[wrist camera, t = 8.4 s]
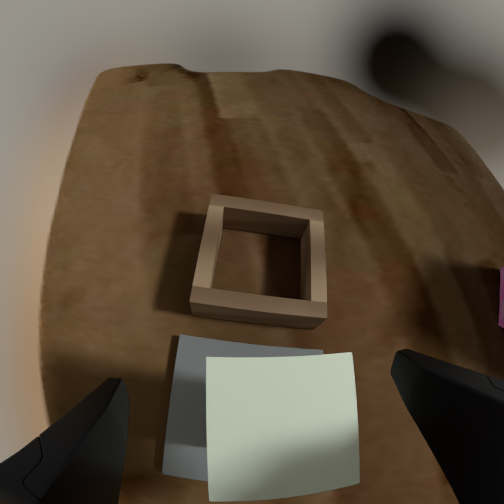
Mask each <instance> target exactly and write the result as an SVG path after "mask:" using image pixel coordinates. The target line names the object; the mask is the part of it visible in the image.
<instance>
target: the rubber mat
mask: <svg viewBox="0 0 504 504" xmlns="http://www.w3.org/2000/svg"><path fill="white" fill-rule="evenodd" d="M310 355H323V350H314V349H299V348H286V347H274V346H264V345H254V344H245V343H237V342H229V341H221V340H214V339H207V338H200V337H194V336H188V335H182V334H180V337H179V343H178V349H177V356H176V362H175V368H174V375H173V382H172V389H171V396H170V404H169V412H168V420H167V428H166V437H165V446H164V456H163V467H162V474H166V475H171V476H176V477H182V478H188V479H194V480H202V481H208V465H207V429H206V357H290V356H310Z"/></svg>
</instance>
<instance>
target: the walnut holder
mask: <svg viewBox="0 0 504 504" xmlns="http://www.w3.org/2000/svg"><path fill="white" fill-rule="evenodd" d="M222 228H228V229H235V230H243V231H250V232H257V233H264V234H270V235H277V236H284V237H291V238H297V239H301V288H300V300H299V299H290V298H282V297H273V296H265V295H257V294H249V293H241V292H234V291H227V290H219V289H212V286H213V280H214V274H215V268H216V262H217V256H218V250H219V244H220V238H221V233H222ZM189 302H190V307H191V311H192V315H195V316H201V317H208V318H215V319H222V320H229V321H237V322H245V323H253V324H262V325H271V326H281V327H291V328H303V329H315V328H316V327H317V326H319V325H320V324H321V323H322V322H323V321H324V320H325V319H327V284H326V257H325V238H324V222H323V211H320V210H314V209H309V208H303V207H297V206H291V205H285V204H278V203H272V202H266V201H259V200H252V199H245V198H238V197H231V196H224V195H216V194H212V195H211V200H210V204H209V208H208V213H207V217H206V222H205V226H204V231H203V236H202V240H201V245H200V250H199V255H198V260H197V265H196V270H195V275H194V280H193V285H192V290H191V296H190V301H189Z"/></svg>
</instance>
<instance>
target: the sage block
mask: <svg viewBox="0 0 504 504" xmlns="http://www.w3.org/2000/svg"><path fill="white" fill-rule="evenodd" d="M206 429H207V465H208V488H209V501H253V500H267V499H277V498H286V497H294V496H301V495H307V494H313V493H319V492H324V491H329V490H334V489H338V488H342V487H347V486H351V485H355V484H358V483H359V435H358V416H357V401H356V389H355V378H354V367H353V358H352V352H349V353H338V354H325V355H310V356H290V357H206Z"/></svg>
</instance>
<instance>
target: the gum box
mask: <svg viewBox="0 0 504 504" xmlns="http://www.w3.org/2000/svg"><path fill="white" fill-rule="evenodd" d="M498 325H499V326H501V327H502V328H504V267H503V268H501V269H500V307H499V322H498Z"/></svg>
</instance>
